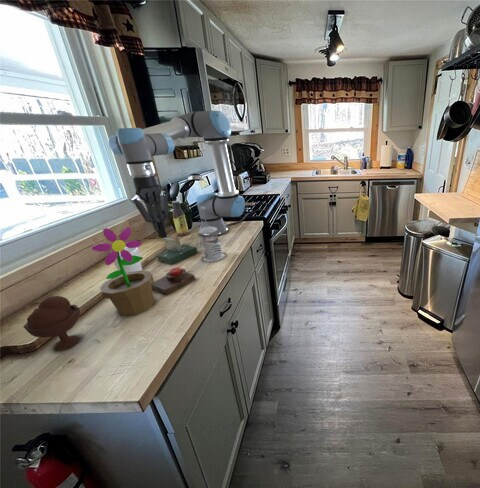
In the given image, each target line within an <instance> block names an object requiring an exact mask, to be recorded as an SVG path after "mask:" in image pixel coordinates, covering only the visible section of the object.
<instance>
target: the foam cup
mask: <svg viewBox="0 0 480 488" xmlns="http://www.w3.org/2000/svg"><path fill="white" fill-rule="evenodd" d="M124 250H127V251H129V252H130V254H131V255H132V256H134V255H135V256H139V257H141V255H140V253H141V252H140V249H139V247H137V248H128V247H125V248H124ZM112 251H113V250H111V251H110V252H112ZM119 254H120V251H119ZM120 258H121V260H122V259H123V258H122V257H121V255H120ZM141 260H142V259H141ZM141 260H140V261H138V262H137V263H135V264H132V265H123V267H124V270H125V273H128V272H133V271H143V267H142V261H141ZM112 264H113V265H114V266H115V268H116V269H117V270H121V269H120V267H119V264H118V261H117V258H116V260H115V261H114V262H113V263H112Z"/></svg>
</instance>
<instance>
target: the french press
mask: <svg viewBox="0 0 480 488" xmlns="http://www.w3.org/2000/svg"><path fill="white" fill-rule="evenodd" d="M203 209H205V207H201V210H203ZM203 212H204V210H203ZM204 217H205V214H204ZM205 221H206V219H205ZM206 225H207V223H206ZM215 231H217V228H215V227H211V226H209V227H204V228H202V229H201V230H200V229H199V230H198V234H199V236H198V237H197V240H196V242H198V241H199V242H198V243H199V244H196V248H197V250H199V251H201V252H203V255H204V257H203V258H202V260H203V261H204V262H208V263H209V262H210V263H211V262H217V261H218V262H219V261H220V260H222V259H223V258H225V257H226V255H225V253H223V251H222V246H221V241H220V239H219V237H218V236H208V237H205V236H202V235H201V234H210V233H213V232H215Z"/></svg>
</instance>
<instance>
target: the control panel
mask: <svg viewBox="0 0 480 488" xmlns="http://www.w3.org/2000/svg"><path fill="white" fill-rule="evenodd" d="M180 245H181V248H182V252H180V253H173V252H167V250H165V251H163V252H160V253H157V254H156V257H157V261H158V262H162V263H164V264H167V265H173V264H175V263H178V262H180V261H182V260H185V259H187V258H189V257H191V256H193V255H197V254H198V253H199V252H198V247H197V246H193V245H189V244H186V243H182V244H180Z"/></svg>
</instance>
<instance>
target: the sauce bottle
mask: <svg viewBox="0 0 480 488" xmlns="http://www.w3.org/2000/svg"><path fill="white" fill-rule="evenodd" d="M171 205H172V209H173V211H172V220H173V223H174V228H175V232H176V234H177V236H179V237H182V236H186V235H188V234H189V228H188V223H187V218H186V215H185V212H184V211H183V210H182V208H181V202H180V201H179V200H173V201H171Z"/></svg>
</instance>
